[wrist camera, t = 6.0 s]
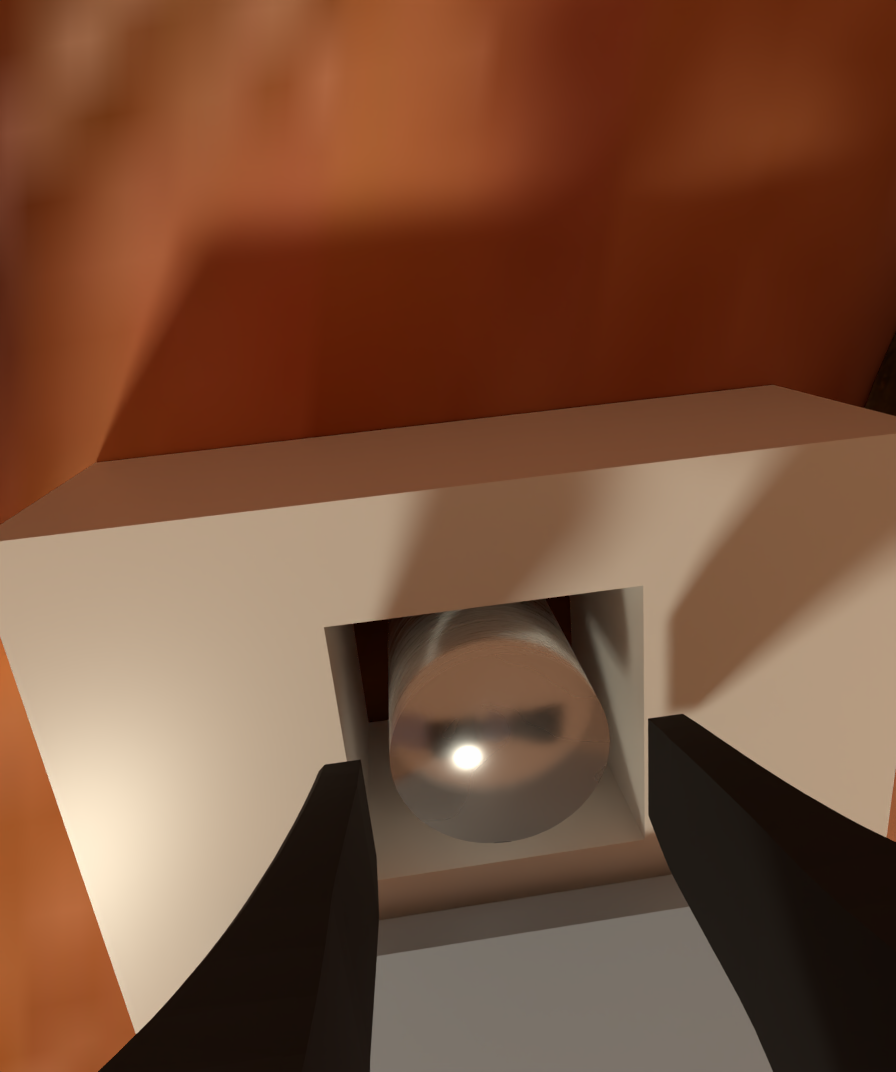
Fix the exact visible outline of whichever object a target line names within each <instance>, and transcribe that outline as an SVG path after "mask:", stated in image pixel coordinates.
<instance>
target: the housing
mask: <svg viewBox="0 0 896 1072" xmlns="http://www.w3.org/2000/svg"><path fill="white" fill-rule="evenodd" d="M567 595H569V598H570V621H571V644H572V650H573V652H574V654H575V656H576V658H577V660H578V662H579V663H580V665H581V667H582V669H583V671H584V673H585V675H586V677H587V679H588V681H589V682H590V684H591V686H592V688H593V690H594V692H595V694H596V696H597V698H598V700H599V701H600V703H601V706H602V708H603V710H604V712H605V715H606V719H607V722H608V726H609V735H610V745H609V754H608V760H607V764H606V767H605V769H604V772H603V775H602V777H601V779H600V781H599V783H598V785H597V786H596V788H595V789H594V791H593V792H592V794H591V795H590V797H589V798H588V799H587V800H586V801H585V802H584V804H583V805H582V806H581V807H580V808H579V809H578V810H576V811H575V812H574V813H573V814H572V815H571V816H569V817H568V818H567V819H565V820H564V821H562V822H561V823H559V824H558V825H556V826H554V827H552V828H551V829H549V830H547V831H544V832H542V833H540V834H537V835H535V836H531V837H528V838H525V839H521V840H516V841H512V842H504V843H477V842H469V841H465V840H460V839H456V838H453V837H451V836H448V835H445V834H443V833H441V832H439V831H437V830H435V829H433V828H431V827H430V826H428V825H427V824H425V823H424V822H422V821H421V820H420V819H419V818H418V817H417V816H416V815H415V814H413V813H412V812H411V810H410V809H409V808H408V807H407V805H406V804H405V803H404V801H403V800H402V798H401V796H400V795H399V793H398V791H397V789H396V786H395V784H394V781H393V777H392V773H391V769H390V752H389V720H384V721H377V722H370V723H369V721H368V715H367V709H366V702H365V696H364V689H363V683H362V677H361V670H360V664H359V657H358V651H357V644H356V638H355V632H354V625H353V623H361V622H368V621H376V620H384V619H391V618H399V617H407V616H414V615H422V614H430V613H437V612H445V611H453V610H460V609H468V608H475V607H483V606H491V605H498V604H506V603H514V602H521V601H529V600H537V599H544V598H552V597H560V596H567ZM0 637H1V640H2V643H3V646H4V649H5V651H6V654H7V657H8V660H9V663H10V666H11V669H12V672H13V675H14V678H15V681H16V684H17V687H18V690H19V693H20V695H21V698H22V701H23V704H24V707H25V710H26V713H27V716H28V719H29V722H30V725H31V728H32V731H33V734H34V737H35V739H36V742H37V745H38V748H39V751H40V754H41V757H42V760H43V763H44V766H45V769H46V772H47V775H48V778H49V780H50V783H51V786H52V789H53V792H54V795H55V798H56V801H57V804H58V807H59V810H60V813H61V816H62V819H63V822H64V824H65V827H66V830H67V833H68V836H69V839H70V842H71V845H72V848H73V851H74V854H75V857H76V860H77V863H78V866H79V868H80V871H81V874H82V877H83V880H84V883H85V886H86V889H87V892H88V895H89V898H90V901H91V904H92V907H93V910H94V912H95V915H96V918H97V921H98V924H99V927H100V930H101V933H102V936H103V939H104V942H105V945H106V948H107V951H108V953H109V956H110V959H111V962H112V965H113V968H114V971H115V974H116V977H117V980H118V983H119V986H120V989H121V992H122V995H123V997H124V1000H125V1003H126V1006H127V1009H128V1012H129V1015H130V1018H131V1021H132V1024H133V1027H134V1030H135V1033H136V1034H137V1033H138V1032H139V1031H140V1030H141V1029H142V1028H143V1027H144V1026H145V1025H146V1024H147V1023H148V1022H149V1021H150V1020H151V1019H152V1018H153V1017H154V1016H155V1014H156V1013H157V1012H158V1011H159V1010H160V1009H161V1008H162V1007H163V1006H164V1005H165V1004H166V1002H167V1001H168V1000H169V999H170V998H171V997H172V996H173V995H174V993H175V992H176V991H177V990H178V989H179V988H180V986H181V985H182V984H183V983H184V982H185V980H186V979H187V978H188V977H189V976H190V975H191V973H192V972H193V971H194V970H195V969H196V968H197V966H198V965H199V964H200V963H201V962H202V960H203V959H204V958H205V957H206V955H207V954H208V953H209V952H210V950H211V949H212V948H213V946H214V945H215V944H216V943H217V941H218V940H219V939H220V937H221V936H222V935H223V934H224V932H225V931H226V929H227V928H228V927H229V925H230V924H231V923H232V921H233V920H234V918H235V917H236V916H237V914H238V913H239V911H240V910H241V909H242V907H243V906H244V904H245V903H246V901H247V900H248V898H249V897H250V895H251V894H252V892H253V890H254V889H255V887H256V886H257V884H258V883H259V881H260V880H261V878H262V877H263V875H264V873H265V872H266V870H267V869H268V867H269V866H270V864H271V862H272V861H273V859H274V857H275V856H276V854H277V852H278V850H279V849H280V847H281V845H282V843H283V842H284V840H285V838H286V836H287V834H288V833H289V831H290V829H291V827H292V826H293V824H294V822H295V820H296V818H297V816H298V814H299V812H300V810H301V808H302V806H303V804H304V802H305V800H306V798H307V796H308V794H309V792H310V790H311V788H312V786H313V783H314V781H315V779H316V776H317V774H318V772H319V770H320V769H321V768H322V767H323V766H324V765H325V764H332V763H339V762H346V761H353V760H360V759H361V764H362V770H363V776H364V782H365V788H366V795H367V801H368V807H369V813H370V819H371V825H372V831H373V837H374V843H375V850H376V856H377V875H378V898H379V920H384V919H391V918H397V917H404V916H410V915H416V914H423V913H429V912H436V911H442V910H448V909H455V908H461V907H468V906H474V905H481V904H487V903H493V902H500V901H506V900H513V899H519V898H525V897H532V896H538V895H545V894H551V893H558V892H564V891H570V890H577V889H583V888H590V887H596V886H602V885H609V884H615V883H622V882H628V881H634V880H641V879H647V878H654V877H660V876H667V875H672V873H671V872H670V869H669V867H668V864H667V862H666V859H665V857H664V855H663V852H662V850H661V847H660V845H659V842H658V839H657V837H656V834H655V832H654V829H653V826H652V824H651V821H650V819H649V816H648V719H649V718H656V717H663V716H670V715H677V714H684V715H686V716H687V717H689V718H690V719H692V720H693V721H695V722H697V723H698V724H699V725H701V726H702V727H704V728H705V729H707V730H708V731H710V732H711V733H713V734H714V735H716V736H717V737H719V738H720V739H722V740H723V741H724V742H726V743H727V744H729V745H730V746H732V747H733V748H735V749H736V750H738V751H739V752H741V753H742V754H744V755H745V756H747V757H748V758H750V759H751V760H753V761H754V762H756V763H757V764H759V765H760V766H762V767H763V768H765V769H766V770H768V771H769V772H771V773H773V774H774V775H776V776H777V777H779V778H780V779H782V780H784V781H785V782H787V783H788V784H790V785H792V786H793V787H795V788H797V789H798V790H800V791H802V792H803V793H805V794H806V795H808V796H810V797H812V798H813V799H815V800H817V801H819V802H820V803H822V804H824V805H826V806H827V807H829V808H831V809H833V810H834V811H836V812H838V813H840V814H841V815H843V816H845V817H847V818H849V819H851V820H852V821H854V822H856V823H858V824H860V825H862V826H864V827H866V828H868V829H870V830H872V831H874V832H876V833H878V834H880V835H882V836H884V837H886V836H887V828H888V821H889V814H890V806H891V799H892V791H893V784H894V776H895V769H896V416H893V415H889V414H885V413H881V412H877V411H873V410H870V409H866V408H862V407H858V406H854V405H850V404H846V403H842V402H838V401H835V400H831V399H827V398H823V397H819V396H815V395H811V394H807V393H803V392H800V391H796V390H792V389H788V388H784V387H780V386H776V385H767V386H758V387H750V388H741V389H732V390H723V391H715V392H706V393H697V394H689V395H680V396H671V397H662V398H654V399H645V400H636V401H628V402H619V403H610V404H602V405H593V406H584V407H575V408H567V409H558V410H549V411H541V412H532V413H523V414H515V415H506V416H497V417H488V418H480V419H471V420H462V421H454V422H445V423H436V424H428V425H419V426H410V427H401V428H393V429H384V430H375V431H367V432H358V433H349V434H340V435H332V436H323V437H314V438H306V439H297V440H288V441H280V442H271V443H262V444H253V445H245V446H236V447H227V448H219V449H210V450H201V451H193V452H184V453H175V454H166V455H158V456H149V457H140V458H132V459H123V460H114V461H106V462H97V463H94V464H92V465H91V466H89V467H88V468H86V469H85V470H83V471H82V472H80V473H79V474H77V475H75V476H74V477H72V478H71V479H69V480H68V481H66V482H65V483H63V484H62V485H60V486H59V487H57V488H56V489H54V490H53V491H51V492H49V493H48V494H46V495H45V496H43V497H42V498H40V499H39V500H37V501H36V502H34V503H33V504H31V505H30V506H28V507H27V508H25V509H23V510H22V511H20V512H19V513H17V514H16V515H14V516H13V517H11V518H10V519H8V520H7V521H5V522H4V523H2V524H1V525H0Z"/></svg>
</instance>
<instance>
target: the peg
mask: <svg viewBox="0 0 896 1072" xmlns="http://www.w3.org/2000/svg"><path fill="white" fill-rule="evenodd" d="M387 645H388V699H389V752H390V769H391V773H392V777H393V781H394V784H395V786H396V789H397V791H398V793H399V795H400V796H401V798H402V800H403V801H404V803H405V804H406V805H407V807H408V808H409V809H410V810H411V812H412V813H413V814H415V815H416V816H417V817H418V818H419V819H420V820H421V821H422V822H424V823H425V824H427V825H428V826H430V827H431V828H433V829H435V830H437V831H439V832H441V833H443V834H445V835H448V836H451V837H453V838H456V839H460V840H465V841H469V842H477V843H504V842H512V841H516V840H521V839H525V838H528V837H531V836H535V835H537V834H540V833H542V832H544V831H547V830H549V829H551V828H552V827H554V826H556V825H558V824H559V823H561V822H562V821H564V820H565V819H567V818H568V817H569V816H571V815H572V814H573V813H574V812H575V811H576V810H578V809H579V808H580V807H581V806H582V805H583V804H584V802H585V801H586V800H587V799H588V798H589V797H590V795H591V794H592V792H593V791H594V789H595V788H596V786H597V785H598V783H599V781H600V779H601V777H602V775H603V772H604V769H605V767H606V764H607V760H608V754H609V745H610V735H609V726H608V722H607V719H606V715H605V712H604V710H603V708H602V706H601V703H600V701H599V700H598V698H597V696H596V694H595V692H594V690H593V688H592V686H591V684H590V682H589V681H588V679H587V677H586V675H585V673H584V671H583V669H582V667H581V665H580V663H579V662H578V660H577V658H576V656H575V654H574V652H573V650H572V648H571V646H570V644H569V643H568V641H567V639H566V637H565V635H564V633H563V631H562V629H561V627H560V625H559V624H558V622H557V620H556V618H555V616H554V614H553V612H552V610H551V608H550V606H549V605H548V603H547V601H546V599H545V598H544V599H537V600H529V601H521V602H514V603H506V604H498V605H491V606H483V607H475V608H468V609H460V610H453V611H445V612H437V613H430V614H422V615H414V616H407V617H399V618H391V619H388V627H387Z"/></svg>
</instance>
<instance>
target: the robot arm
mask: <svg viewBox="0 0 896 1072" xmlns="http://www.w3.org/2000/svg"><path fill="white" fill-rule="evenodd" d="M648 816H649V819H650V821H651V824H652V826H653V829H654V832H655V834H656V837H657V839H658V842H659V845H660V847H661V850H662V852H663V855H664V857H665V859H666V862H667V864H668V867H669V869H670V872H671V873H672V875H673V877H674V879H675V881H676V883H677V885H678V887H679V889H680V890H681V892H682V894H683V896H684V898H685V900H686V902H687V903H688V905H689V907H690V909H691V911H692V913H693V915H694V916H695V918H696V920H697V922H698V924H699V926H700V927H701V929H702V931H703V933H704V935H705V937H706V938H707V940H708V942H709V944H710V946H711V948H712V949H713V951H714V953H715V955H716V957H717V958H718V960H719V962H720V964H721V966H722V968H723V969H724V971H725V973H726V975H727V977H728V979H729V980H730V982H731V984H732V986H733V988H734V990H735V991H736V993H737V995H738V997H739V999H740V1001H741V1003H742V1005H743V1007H744V1009H745V1011H746V1013H747V1015H748V1017H749V1019H750V1021H751V1023H752V1025H753V1027H754V1029H755V1031H756V1034H757V1036H758V1038H759V1041H760V1043H761V1045H762V1047H763V1050H764V1052H765V1054H766V1057H767V1059H768V1061H769V1064H770V1066H771V1068H772V1071H773V1072H896V842H894V841H892V840H890V839H888V838H886V837H884V836H882V835H880V834H878V833H876V832H874V831H872V830H870V829H868V828H866V827H864V826H862V825H860V824H858V823H856V822H854V821H852V820H851V819H849V818H847V817H845V816H843V815H841V814H840V813H838V812H836V811H834V810H833V809H831V808H829V807H827V806H826V805H824V804H822V803H820V802H819V801H817V800H815V799H813V798H812V797H810V796H808V795H806V794H805V793H803V792H802V791H800V790H798V789H797V788H795V787H793V786H792V785H790V784H788V783H787V782H785V781H784V780H782V779H780V778H779V777H777V776H776V775H774V774H773V773H771V772H769V771H768V770H766V769H765V768H763V767H762V766H760V765H759V764H757V763H756V762H754V761H753V760H751V759H750V758H748V757H747V756H745V755H744V754H742V753H741V752H739V751H738V750H736V749H735V748H733V747H732V746H730V745H729V744H727V743H726V742H724V741H723V740H722V739H720V738H719V737H717V736H716V735H714V734H713V733H711V732H710V731H708V730H707V729H705V728H704V727H702V726H701V725H699V724H698V723H697V722H695V721H693V720H692V719H690V718H689V717H687V716H686V715H684V714H677V715H670V716H663V717H656V718H649V719H648ZM378 929H379V898H378V875H377V856H376V850H375V843H374V837H373V831H372V825H371V819H370V813H369V807H368V801H367V795H366V788H365V782H364V776H363V770H362V764H361V759H360V760H353V761H346V762H339V763H332V764H325V765H324V766H323V767H322V768H321V769H320V770H319V772H318V774H317V776H316V779H315V781H314V783H313V786H312V788H311V790H310V792H309V794H308V796H307V798H306V800H305V802H304V804H303V806H302V808H301V810H300V812H299V814H298V816H297V818H296V820H295V822H294V824H293V826H292V827H291V829H290V831H289V833H288V834H287V836H286V838H285V840H284V842H283V843H282V845H281V847H280V849H279V850H278V852H277V854H276V856H275V857H274V859H273V861H272V862H271V864H270V866H269V867H268V869H267V870H266V872H265V873H264V875H263V877H262V878H261V880H260V881H259V883H258V884H257V886H256V887H255V889H254V890H253V892H252V894H251V895H250V897H249V898H248V900H247V901H246V903H245V904H244V906H243V907H242V909H241V910H240V911H239V913H238V914H237V916H236V917H235V918H234V920H233V921H232V923H231V924H230V925H229V927H228V928H227V929H226V931H225V932H224V934H223V935H222V936H221V937H220V939H219V940H218V941H217V943H216V944H215V945H214V946H213V948H212V949H211V950H210V952H209V953H208V954H207V955H206V957H205V958H204V959H203V960H202V962H201V963H200V964H199V965H198V966H197V968H196V969H195V970H194V971H193V972H192V973H191V975H190V976H189V977H188V978H187V979H186V980H185V982H184V983H183V984H182V985H181V986H180V988H179V989H178V990H177V991H176V992H175V993H174V995H173V996H172V997H171V998H170V999H169V1000H168V1001H167V1002H166V1004H165V1005H164V1006H163V1007H162V1008H161V1009H160V1010H159V1011H158V1012H157V1013H156V1014H155V1016H154V1017H153V1018H152V1019H151V1020H150V1021H149V1022H148V1023H147V1024H146V1025H145V1026H144V1027H143V1028H142V1029H141V1030H140V1031H139V1032H138V1033H137V1034H136V1035H135V1036H134V1037H133V1038H132V1039H131V1040H130V1041H129V1042H128V1043H127V1044H126V1045H125V1046H124V1047H123V1048H122V1049H121V1050H120V1051H119V1052H118V1053H117V1054H116V1055H115V1056H114V1057H113V1058H112V1059H111V1060H110V1061H109V1062H108V1063H107V1064H106V1065H105V1066H104V1067H102V1068H101V1069H100V1070H99V1071H98V1072H370V1055H371V1040H372V1024H373V1009H374V993H375V978H376V962H377V945H378Z"/></svg>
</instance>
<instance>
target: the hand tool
mask: <svg viewBox="0 0 896 1072" xmlns="http://www.w3.org/2000/svg"><path fill="white" fill-rule="evenodd" d="M865 408H866V409H870V410H873V411H877V412H881V413H885V414H889V415H893V416H896V333H895V335H894V337H893V339H892V342H891V344H890V346H889V349H888V351H887V353H886V356H885V358H884V360H883V363H882V365H881V367H880V370H879V372H878V374H877V377H876V379H875V381H874V384H873V387H872V390H871V392H870V395H869V398H868V401H867V403H866V406H865Z"/></svg>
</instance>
